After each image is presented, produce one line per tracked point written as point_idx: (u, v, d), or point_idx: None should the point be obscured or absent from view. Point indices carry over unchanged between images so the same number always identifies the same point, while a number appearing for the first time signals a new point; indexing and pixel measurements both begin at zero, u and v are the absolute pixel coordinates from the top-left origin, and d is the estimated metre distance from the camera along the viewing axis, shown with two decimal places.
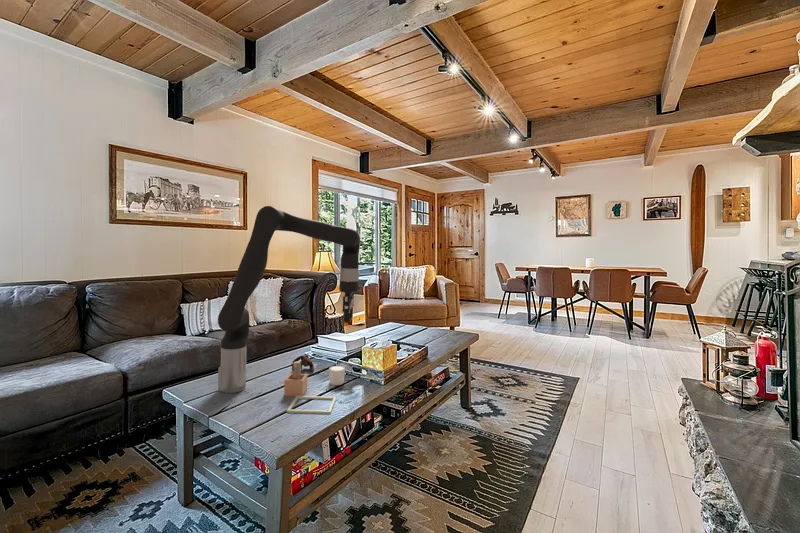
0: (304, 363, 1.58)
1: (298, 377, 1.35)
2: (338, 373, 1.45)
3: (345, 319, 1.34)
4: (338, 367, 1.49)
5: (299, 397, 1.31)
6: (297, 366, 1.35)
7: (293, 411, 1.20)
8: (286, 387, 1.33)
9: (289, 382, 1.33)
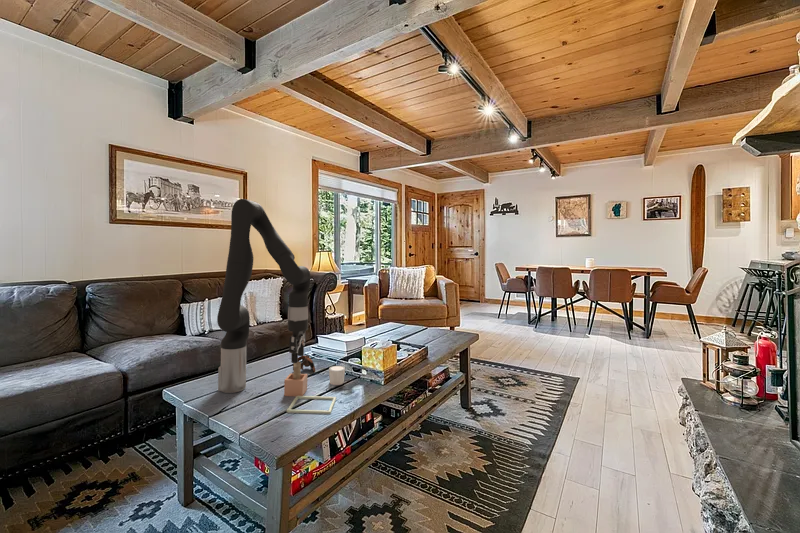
0: (305, 363, 1.58)
1: (298, 377, 1.35)
2: (338, 373, 1.45)
3: (293, 359, 1.30)
4: (338, 367, 1.49)
5: (299, 397, 1.31)
6: (297, 366, 1.35)
7: (293, 411, 1.20)
8: (286, 387, 1.33)
9: (289, 382, 1.33)
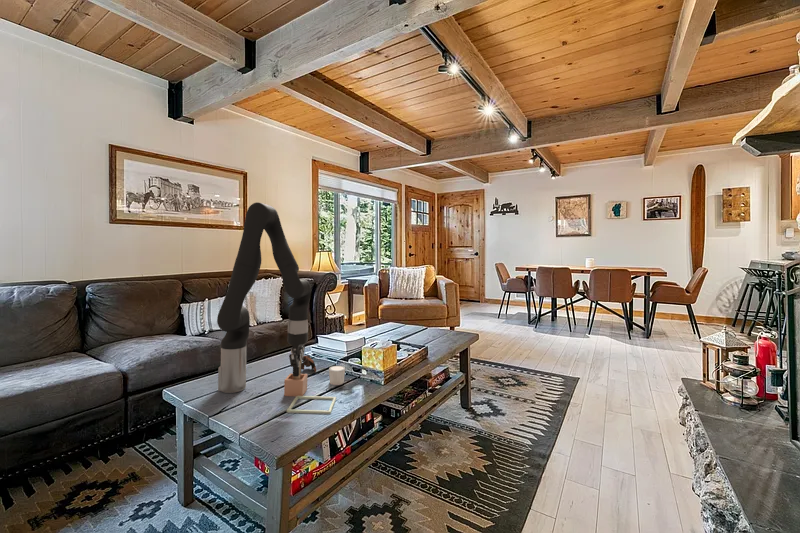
0: (306, 363, 1.58)
1: None
2: (338, 373, 1.45)
3: (294, 373, 1.34)
4: (338, 367, 1.49)
5: (299, 397, 1.31)
6: None
7: (293, 411, 1.20)
8: (286, 387, 1.33)
9: (289, 382, 1.33)
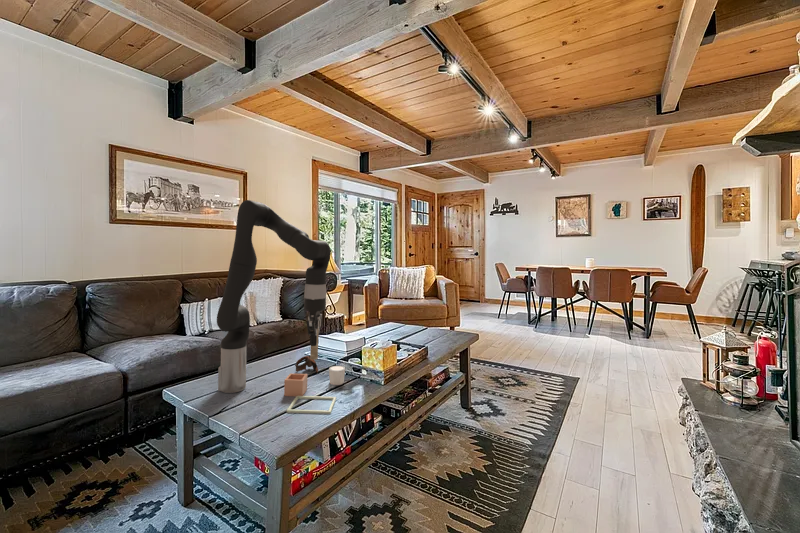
0: (308, 363, 1.58)
1: None
2: (338, 373, 1.45)
3: (311, 342, 1.23)
4: (338, 367, 1.49)
5: (299, 397, 1.31)
6: None
7: (293, 411, 1.20)
8: (286, 387, 1.33)
9: (289, 382, 1.33)
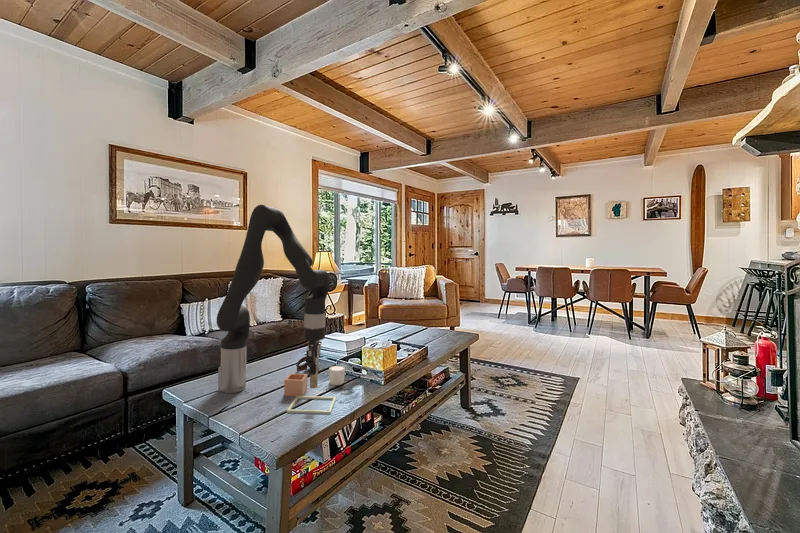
0: (309, 364, 1.58)
1: None
2: (338, 373, 1.45)
3: (311, 371, 1.23)
4: (338, 367, 1.49)
5: (299, 397, 1.31)
6: None
7: (293, 411, 1.20)
8: (286, 387, 1.33)
9: (289, 382, 1.33)
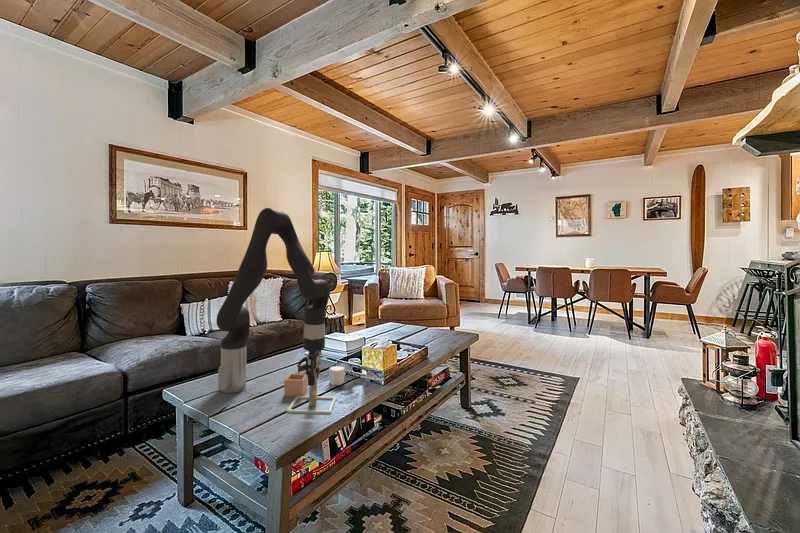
0: None
1: (315, 389, 1.25)
2: (338, 373, 1.45)
3: (309, 382, 1.22)
4: (338, 367, 1.49)
5: (299, 397, 1.31)
6: None
7: (293, 411, 1.20)
8: (286, 387, 1.33)
9: (289, 382, 1.33)
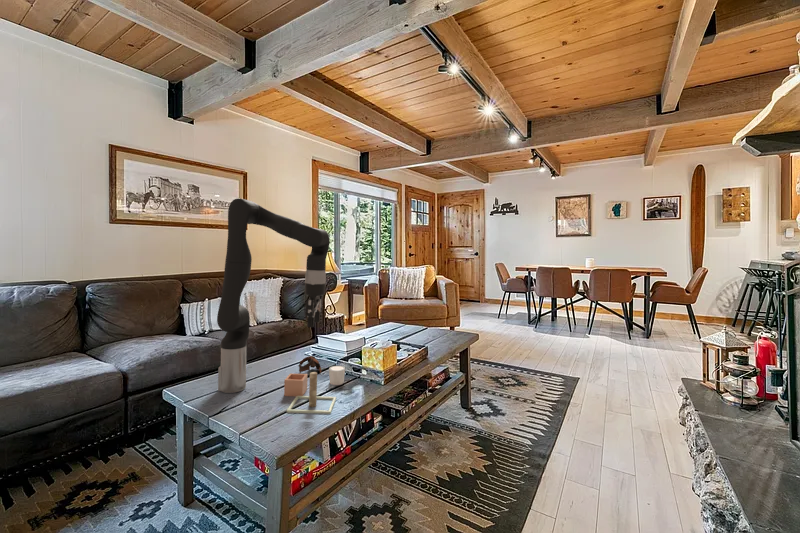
0: (312, 364, 1.57)
1: (315, 389, 1.25)
2: (338, 373, 1.45)
3: (309, 324, 1.27)
4: (338, 367, 1.49)
5: (299, 397, 1.31)
6: (313, 377, 1.24)
7: (293, 411, 1.20)
8: (286, 387, 1.33)
9: (289, 382, 1.33)
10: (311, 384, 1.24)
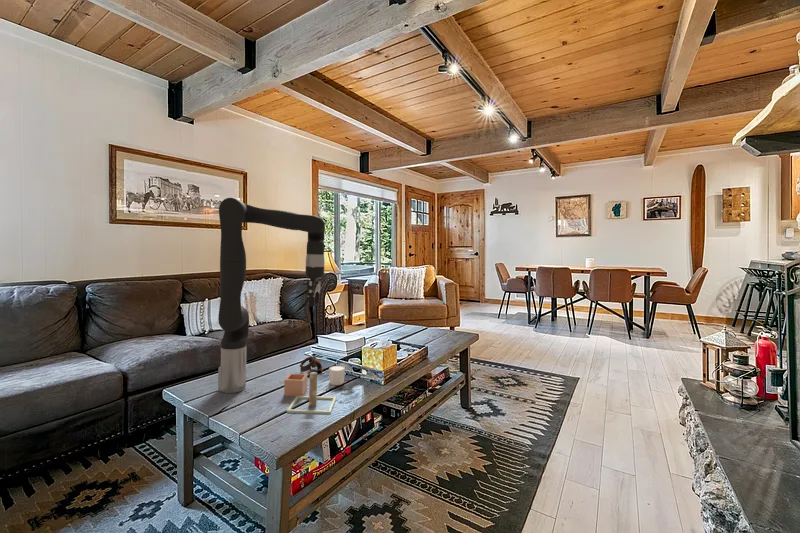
0: (313, 364, 1.57)
1: (315, 389, 1.25)
2: (338, 373, 1.45)
3: (310, 303, 1.39)
4: (338, 367, 1.49)
5: (299, 397, 1.31)
6: (313, 377, 1.24)
7: (293, 411, 1.20)
8: (286, 387, 1.33)
9: (289, 382, 1.33)
10: (311, 384, 1.24)
